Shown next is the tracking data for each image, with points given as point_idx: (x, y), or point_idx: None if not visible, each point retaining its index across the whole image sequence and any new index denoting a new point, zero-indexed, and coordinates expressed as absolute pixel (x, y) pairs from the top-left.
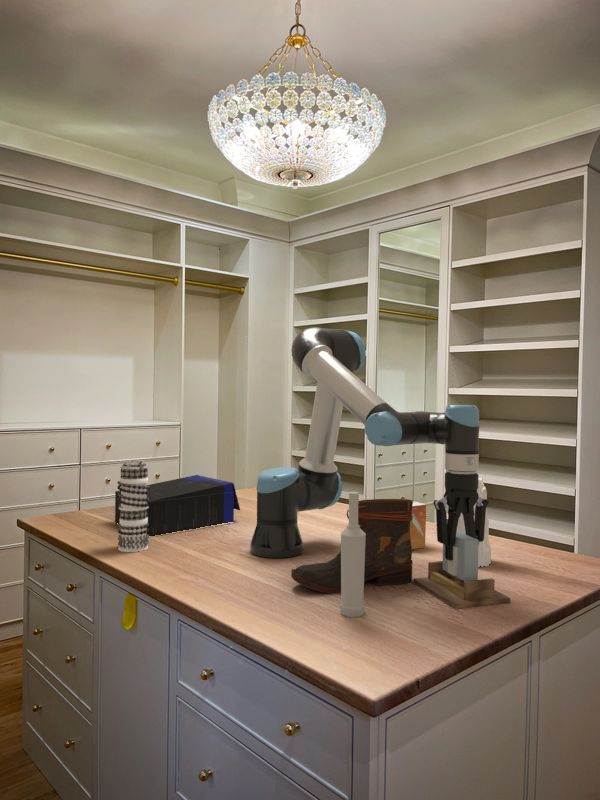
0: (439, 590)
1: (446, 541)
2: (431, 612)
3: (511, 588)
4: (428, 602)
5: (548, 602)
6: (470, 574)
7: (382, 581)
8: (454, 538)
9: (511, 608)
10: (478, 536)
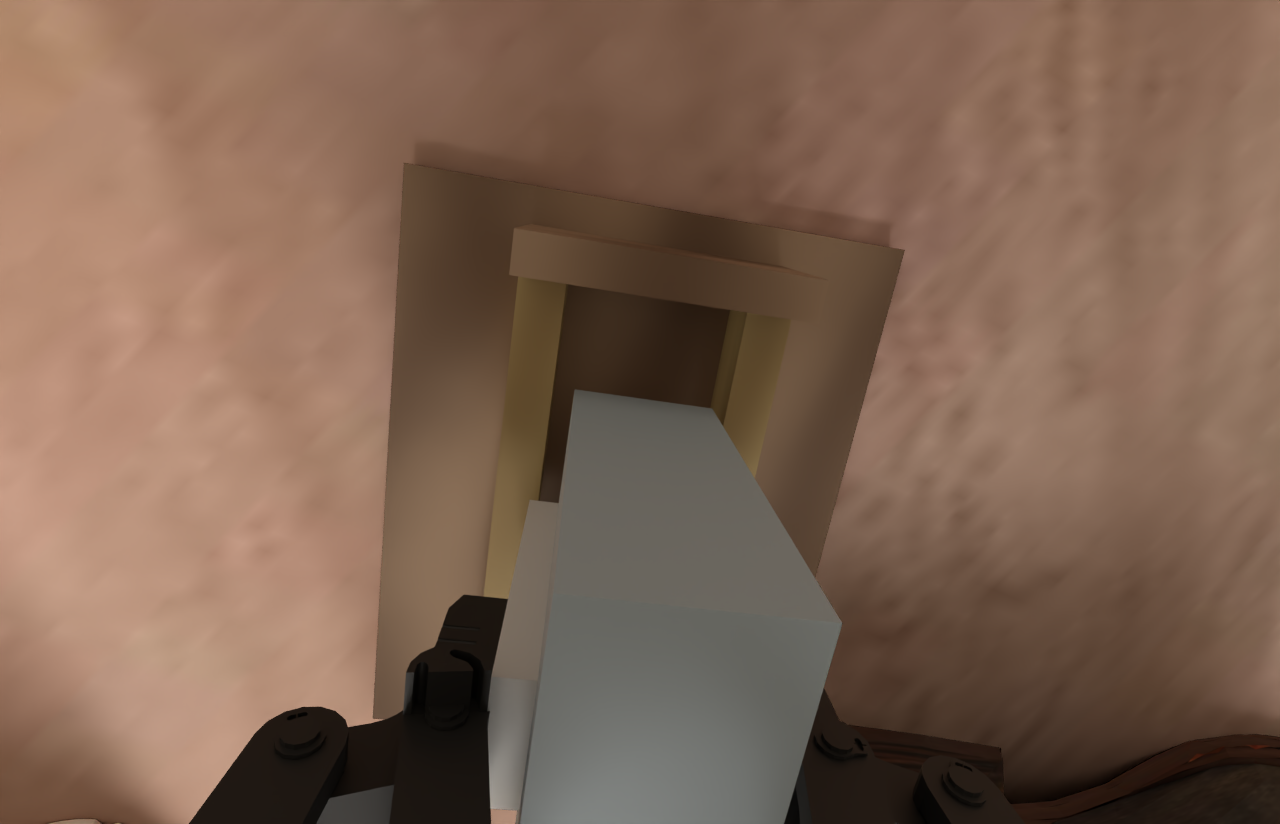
0: (787, 514)
1: (949, 790)
2: (1069, 268)
3: (178, 404)
4: (943, 422)
5: (86, 12)
6: (657, 415)
7: (976, 767)
8: (826, 815)
9: (500, 58)
10: (327, 802)
